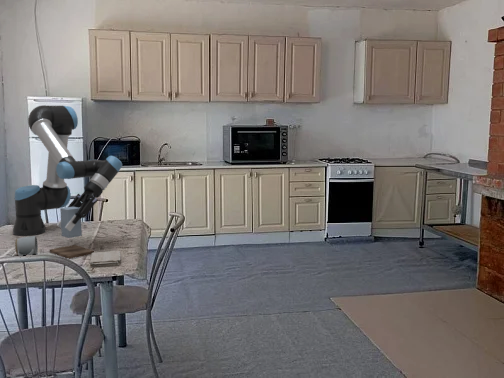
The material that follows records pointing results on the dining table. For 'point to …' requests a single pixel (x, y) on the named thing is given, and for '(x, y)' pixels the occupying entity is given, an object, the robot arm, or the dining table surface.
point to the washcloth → (105, 259)
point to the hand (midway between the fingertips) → (63, 228)
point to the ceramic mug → (26, 245)
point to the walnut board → (71, 251)
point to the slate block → (65, 218)
